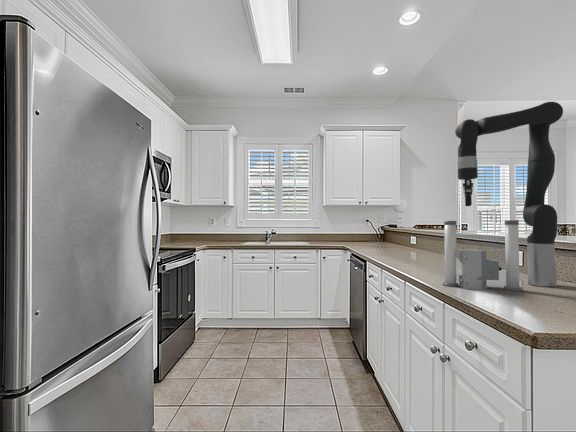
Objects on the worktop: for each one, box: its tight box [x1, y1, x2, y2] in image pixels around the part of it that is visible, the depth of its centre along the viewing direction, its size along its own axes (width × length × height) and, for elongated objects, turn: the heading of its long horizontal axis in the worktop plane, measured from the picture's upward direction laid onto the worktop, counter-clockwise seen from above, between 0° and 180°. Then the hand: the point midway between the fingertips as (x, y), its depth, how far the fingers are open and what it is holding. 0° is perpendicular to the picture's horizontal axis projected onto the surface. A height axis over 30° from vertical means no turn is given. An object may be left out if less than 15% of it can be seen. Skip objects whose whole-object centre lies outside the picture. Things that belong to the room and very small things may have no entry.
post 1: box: [442, 220, 460, 288], centre depth 145 cm, size 6×6×27 cm
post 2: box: [503, 219, 523, 292], centre depth 135 cm, size 6×6×27 cm
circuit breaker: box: [457, 249, 503, 290], centre depth 140 cm, size 8×14×15 cm, turn 78°
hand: (468, 205), depth 148 cm, fingers open, 8 cm apart
